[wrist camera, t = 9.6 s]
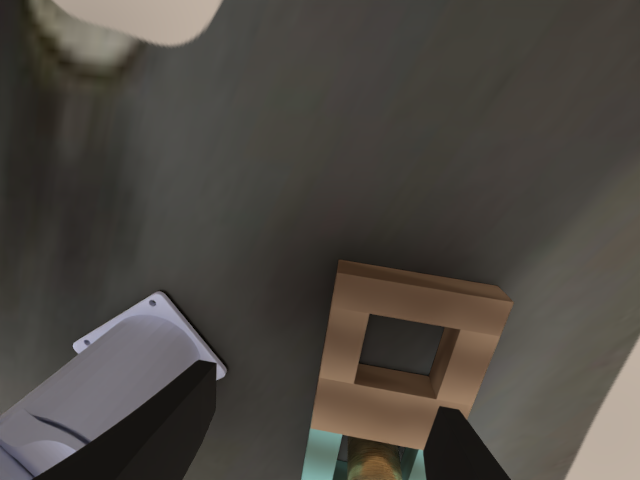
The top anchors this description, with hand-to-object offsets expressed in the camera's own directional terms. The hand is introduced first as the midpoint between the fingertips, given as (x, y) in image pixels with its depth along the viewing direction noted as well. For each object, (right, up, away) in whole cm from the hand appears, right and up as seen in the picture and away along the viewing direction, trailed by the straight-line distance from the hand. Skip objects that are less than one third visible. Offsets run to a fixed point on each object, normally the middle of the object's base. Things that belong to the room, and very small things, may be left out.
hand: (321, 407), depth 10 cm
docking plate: (+5, -6, +13) cm, 15 cm away
